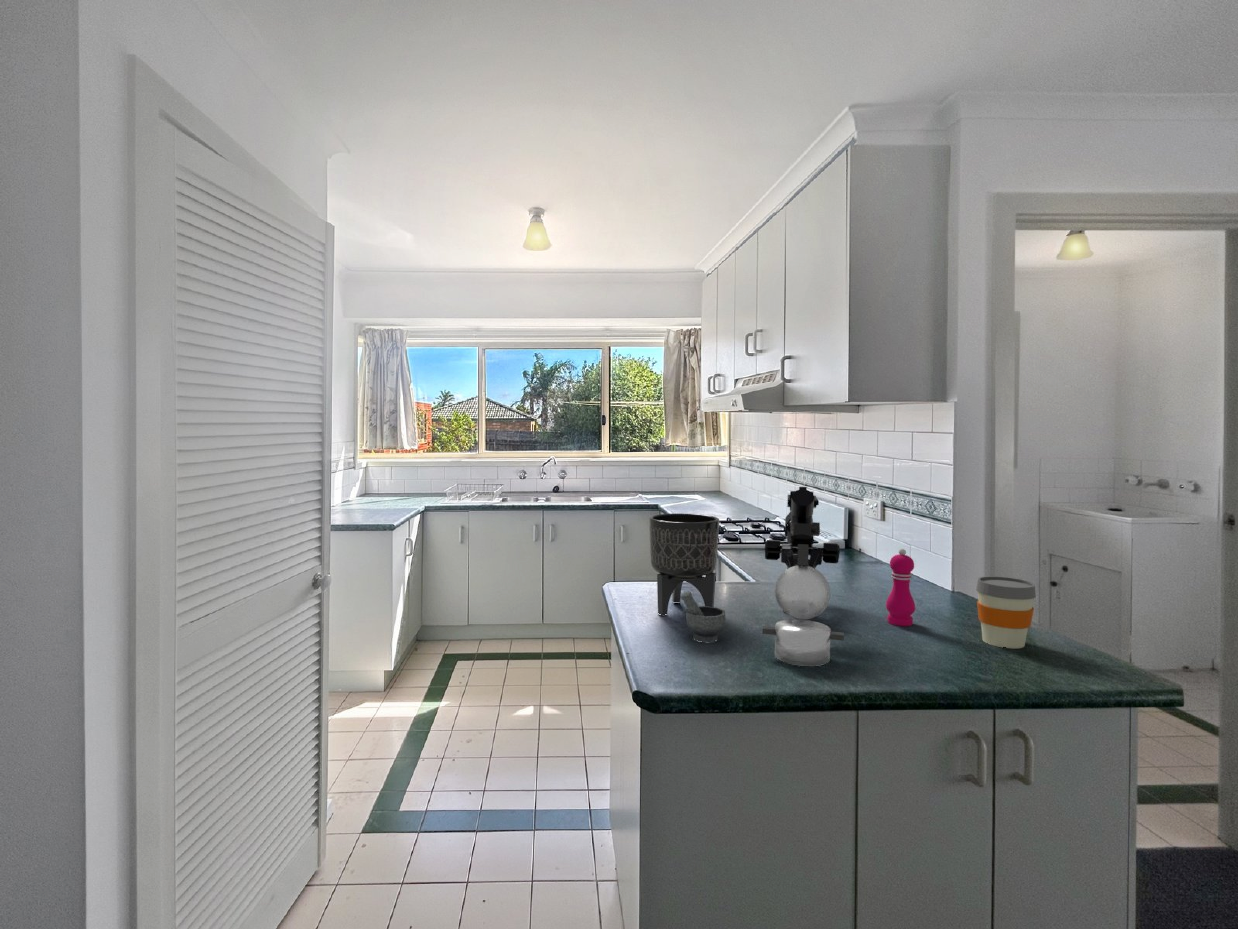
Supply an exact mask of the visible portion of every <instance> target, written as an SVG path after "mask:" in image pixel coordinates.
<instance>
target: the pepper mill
mask: <svg viewBox="0 0 1238 929" xmlns="http://www.w3.org/2000/svg"><path fill="white" fill-rule="evenodd" d="M889 566H890V567H889V568H890V569H891V570H892V572H891V578H892V581H893V582H892V583H893V584H892V589H891V591H890V592H889V593H890V594H889V595H888V597H887V599H886V603H885V608H886V610H887V611H888V614H887V618H886V619H887V623H888V624H890V625H893V626H898V627H899V626H900V627H910V626H912V625H913V624H914V618H913V617H912V615H913V614H914V613H915V611H916V605H915V604H916V603H915V600H914V599H913V596H912V594H911V591H910V589H911V588H910V583H911V580H912V576H913V574H912V571H913V570H914V569H915V562H914V559H913V558H912V557H911V556H909V555H907V551H906V549H904V548H901V549H899V550H898V554H895V555H893V556H891V558H890V561H889Z"/></svg>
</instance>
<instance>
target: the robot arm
mask: <svg viewBox="0 0 1238 929" xmlns="http://www.w3.org/2000/svg"><path fill="white" fill-rule="evenodd" d="M807 488H808V487H807V486H799V487H798V489H797V490H790V492H789V493H790V494H787V508H789V512H788V514H787V515H786V516H785V522H784V523H785V525H784V536H785V537H786V540H787V541H786V543H782V544H781V540H779V539H767V540H766V541H764V559H765V560H769V561H770V560H771V561H778V560H779V559H780V562H781V563H783V564H785V565H786V570H787V569H788V568H791V567H793V566H798V544H808V545H809V546H808V556H809V558H808V566H810V567H812V568H815V569H816V568H817V566H821V565H822V564H823V563H824V564H838V563H839V559H840V552H841V548H840V544H838V543H837V542H823V546H822V547H818V546H817V547H816V546H814V537H820V534H821V533H820V532H821V526H820V522H815V521H814V518H813V515H814V509H816V508H817V506H819V503H820V502H819V500H818V498H817V495H815V494H814V491H810V490H808V489H807ZM782 612H783V613H785V612H784V611H783V610H782Z"/></svg>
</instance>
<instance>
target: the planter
mask: <svg viewBox="0 0 1238 929" xmlns="http://www.w3.org/2000/svg"><path fill="white" fill-rule="evenodd" d="M648 520H649V524H648V525H649V551H650V552H649V553H650V566H651V569H652V570H653V571H654V572H656V573H657V575H656V581H657V582H656V589H657V592H656V593H657V614H658V613H659V614H661V615H665V614H667V615H668V611H669V610H668V609H669V603H670V600H671V598H672V601H673V602H680V603H681V600H682V599H681V595H682V588H683V583H684V582H685V583H689V584H690V585H692V586H693V587H694V588H696V589H697V591H698V592H699V593H700V595H701V597H702V599H703V604H704V606H708V607H715V592H716V591H715V590H716V580H717V579H716V578H717V576H716V575H717V573H716V572H715V571H716V569H717V565H718V564H717V562H718V561H717V560H718V550H719V548H718V546H719V535H720V534H719V532H720V519H719V518H718V517H717V516H713V515H708V514H701V513H700V514H699V513H683V512H682V513H680V512H679V513H678V512H677V513H673V512H672V513H661V514H653V515H651V516H649V518H648Z"/></svg>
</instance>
